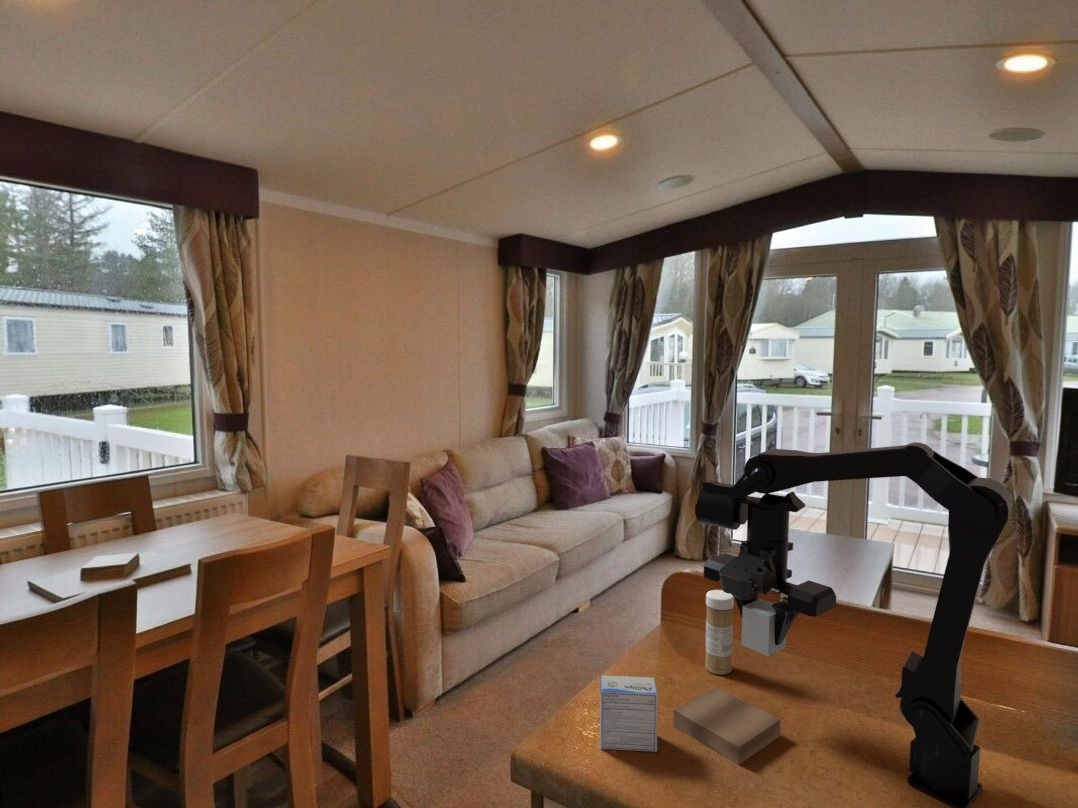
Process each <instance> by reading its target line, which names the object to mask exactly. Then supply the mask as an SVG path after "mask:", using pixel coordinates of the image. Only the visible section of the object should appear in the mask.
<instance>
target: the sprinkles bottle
mask: <svg viewBox="0 0 1078 808" xmlns="http://www.w3.org/2000/svg"><path fill="white" fill-rule="evenodd" d="M734 600H735V598H734V597H733V596H732V595H731V594H730V593H729V594H728V593H725V592H724V591H723V589H712V590H709V591H707V592H706V594H705V604H706V620H705V662H704V666H705V669H706V671H708V672H709V673H711V674H714V675H721V676H724V675H728V674H729V673H731V672H732V670H733V668H732V653H733V631H734V628H733V626H734V624H733V610H734V606H735V605H734V604H735V603H734V602H735V601H734Z"/></svg>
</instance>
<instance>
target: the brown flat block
mask: <svg viewBox="0 0 1078 808" xmlns="http://www.w3.org/2000/svg"><path fill="white" fill-rule="evenodd" d="M673 727H674V728H675V729H677V730H678V731H680V732H682V733H684V734H685V735H687V736H689V737H690V738H692V739H694V740H695V741H697V742H699V743H700V744H702V745H704V746H706V747H707V748H708V749H710V750H712V751H714V752H715V753H717V754H719V755H721V756H722V757H723V758H725V759H726V760H729V761H730V762H732V763H734V764H735V765H737V766H739V765H742V763H745V762H746V761H747V760H748V759H750V758H751V757H752V756H754V755H756V754H757V753H759V752H760V751H762V750H763V749H764V748H765V747H767V746H769V745H770V744H771V743H773V742H775V741H776V740H777V739H778V738H779V737H781V735H780V734H781V719H780V718H778V717H776V716H774V715H772V714H770V713H768V712H766V711H764V710H762V709H761V708H758V707H756V706H754V705H752V704H751V703H748V702H746V701H745V700H742V699H740V698H738V697H736V696H734V695H732V694H730V693H728V692H726V691H725V690H722V689H720V688H718V687H713V688H711V689H710V690H708V691H706V692H704V693H701V694H700V695H699V696H697V697H695V698H693V699H691V700H690V701H688V702H686V703H684V704H682V705H680V706H678V707H676V708H675V709H673Z"/></svg>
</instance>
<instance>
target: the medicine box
mask: <svg viewBox="0 0 1078 808" xmlns="http://www.w3.org/2000/svg"><path fill="white" fill-rule="evenodd" d="M656 681H657V680H656V678H654V677H643V676H626V675H624V676H623V675H601V676H600V684H599V686H600V687H599V749H601V750H615V751H619V750H620V751H639V752H653V753H657V752H658V716H659V715H658V713H659V711H658V707H659V704H658V703H659V693H658V688H657V683H656Z"/></svg>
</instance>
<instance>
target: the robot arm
mask: <svg viewBox="0 0 1078 808" xmlns="http://www.w3.org/2000/svg"><path fill="white" fill-rule="evenodd" d="M897 477H907V478H908V479H909V480H911V481H912V482H913V483H915V484H916V485H917V486H918V487H919V488H920V489H921V490H922V491H924V492H925V493H926V494H927V495H928V496H929V497H930V498H932V499H933V501H935V502H936V503H938V504H939V505H940V506H941V507H942V508H945V509H946V510H947V511H948V521H947V524H948V525H947V530H948V531H947V535H948V550H949V551H948V558H947V561H946V565H945V569H944V573H943V578H942V581H941V584H940V590H939V593H938V597H937V601H936V606H935V609H934V614H933V618H932V620H931V621H932V622H931V623H930V624H931V625H930V629H929V632H928V633H929V634H928V637H927V642H926V644H925V645H926V646H925V649H924V652H923V654H922V655H920V654H918V652H917V653H916V652H915V651H913V650H911V651H910V652H909V655H908V656H907V659H906V660H905V662H904V665H903V666H902V668H901V683H900V685H899V687H898V689H897V691H896V693H895V695H894V696H895V698H897V699H900V701H899V710H900V714H901V715H902V716H903V717H904V719H905V720H906V722H907V723H908V724H909V725H910V726H912V728H913V731H914V738H913V739H912V740H910V742H909V743H910V744H909V760H908V770H909V771H910V772H911V773H910V775H908V776H907V779H906V782H907V784H908V785H911V786H912V787H914V788H916V789H918V790H920V791H921V792H924V793H926V794H928V795H930V796H932V797H933V798H936V799H938V800H940V801H941V802H944V803H946V804H947V805H950V806H952V807H953V808H969V807H970V806H971V804H972V803H973V802H974V801H975V800H976V798H978V796H979V795H980V794H981V793H982V791H983V785H982V784H981V783H980V782H979V771H980V770H979V768H980V756H981V746H979V745H976V744H975V740H976V737H977V733H978V729H979V724H980V718H979V716H977V714H976V713H975V712H974V711H973V710H972V708H971V707H969V705H968V704H967V703H966V701H964V700H963V699H962V696H961V695H962V667H961V659H962V658H961V656H962V652H963V649H964V646H965V641H966V637H967V634H968V630H969V626H970V622H971V618H972V615H973V611H974V606H975V604H976V603H975V602H976V599H977V596H978V592H979V590H980V589H979V588H980V585H981V582H982V581H981V580H982V577H983V573H984V570H985V566H986V561H987V559H988V558H989V556H990V554H991V553H992V550H993V549H994V547H995V546H996V543H997V541H998V539H999V538H1000V535H1001V534H1002V532H1003V530H1004V528H1005V527H1006V524H1007V522H1008V520H1009V517H1010V514H1011V512H1012V508H1013V505H1014V504H1013V503H1014V502H1013V501H1014V499H1013V496H1012V494H1011V492H1010V491H1009V490H1008V489H1007V486H1005V485H1003V483H1000V482H999V481H997V480H996V479H993V478H989V477H978V475H976V474H974V473H973V472H971V471H969V470H968V469H967V468H965V467H963V466H962V465H959V464H958V463H956V462H954V461H952V460H951V459H949V458H946V457H945V456H943V455H941V454H939V453H938V452H936V451H935V450H933V448H932V447H930V446H929V445H927V444H925V443H924V442H916V441H915V442H909V443H908V444H903V445H891V446H881V447H880V446H879V447H870V448H861V449H847V450H836V451H826V452H808V451H802V450H797V449H783V448H772V449H768V450H765V451H763V452H759V453H756V454H753V455H752V456H750V457H749V458H748V460H747V461H746V462H745V464H744V467H743V475H741V477H740V478H739V479H738V480H737V481H736V483H734V484H731V483H730V484H729V483H724V482H723V483H722V482H720V481H717V480H711V479H708V480H704V481H703V482H702V489H701V490H700V492H699V495H698V497H697V500H696V503H695V505H694V514H695V515H694V516H695V518H696V521H697V522H698V523H699V524H703V525H708V526H712V527H713V526H714V527H717V528H723V529H726V530H727V529H728V530H732V531H737V530H738V529H739V528H740V527H741V526H742V525H745V524H746V523H747V524H746V540H744V541H741V542H740V543H741V545H740V546H739V553H738V555H737V556H734V555H731V554H727V553H723V554H720V555H717V556H714V557H711V558H708V559H706V561H705V563H704V565H703V572H702V573H703V578H705V579H707V580H710V581H713V582H715V583H719V582H721V588H722V590H723V591H724V592H725V593H728V594H729V593H730V594H731V595H732V596H733V597H734V600H735V601H734V602H735V603H736V605H737V608H738V611H739V614H740V617H741V618H742V610H743V606H744V605H746V604H749V603H751V602H754V601H756V600H759V599H758V598H759V594H762V595H767V594H768V593H769V592H770V591H771V592H773V593H777V594H779V595H780V600H779V601H777V602H774V603H773V604H772V607H773V609H774V610H775V612H776V619H775V644H776V645H780V644H781V643H782V642H783V640H784V638H785V636H786V637H787V634H788V633H789V631H790V629H791V627H792V625H793V623H794V622H795V620H796V618H797V617H798V615H799V614H803V615H806V616H808V617H815V618H817V617H818V616H820V615H823V614H825V613H828V612H829V611H831V610H833V609H835V608H836V607H837V595H836V594H837V593H836V592H835V591H834V589H833V588H832V587H831V586H829V585H828V586H827V585H825V584H822V583H818V582H815V581H812V580H806V581H803V582H801V583H799V584H796V583H795V584H794V583H791V582H788V581H787V579H790V578H792V576H793V570H792V569H789V568H788V555H789V554H788V553H789V552H790V551H793V550H794V543H793V542H792V541H791V542H790V541H789V533H790V531H789V530H790V512H792V513H798V512H799V511H802V510H803V509H804V508H806V504H805V502H804V501H803V500H801V499H800V498H799V497H798V496H797V494H796V492H795V491H791V492H788V493H787V494H786V495H779V494H774V493H776V492H780V491H785V490H789V489H792V488H796V487H799V486H803V485H807V484H811V483H812V484H813V483H819V482H832V481H849V480H865V479H881V478H884V479H885V478H897ZM755 493H758V494H763V495H762V497H758V496H751V495H752V494H755Z"/></svg>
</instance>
